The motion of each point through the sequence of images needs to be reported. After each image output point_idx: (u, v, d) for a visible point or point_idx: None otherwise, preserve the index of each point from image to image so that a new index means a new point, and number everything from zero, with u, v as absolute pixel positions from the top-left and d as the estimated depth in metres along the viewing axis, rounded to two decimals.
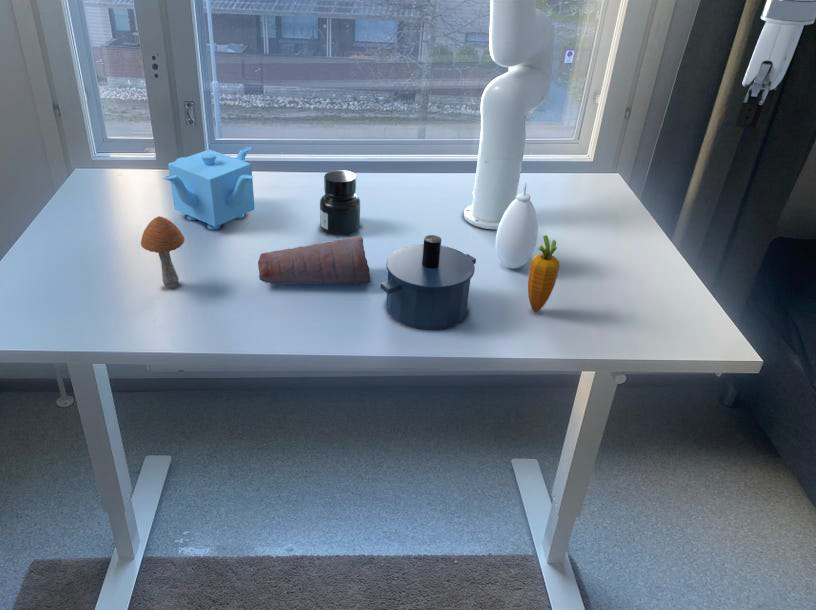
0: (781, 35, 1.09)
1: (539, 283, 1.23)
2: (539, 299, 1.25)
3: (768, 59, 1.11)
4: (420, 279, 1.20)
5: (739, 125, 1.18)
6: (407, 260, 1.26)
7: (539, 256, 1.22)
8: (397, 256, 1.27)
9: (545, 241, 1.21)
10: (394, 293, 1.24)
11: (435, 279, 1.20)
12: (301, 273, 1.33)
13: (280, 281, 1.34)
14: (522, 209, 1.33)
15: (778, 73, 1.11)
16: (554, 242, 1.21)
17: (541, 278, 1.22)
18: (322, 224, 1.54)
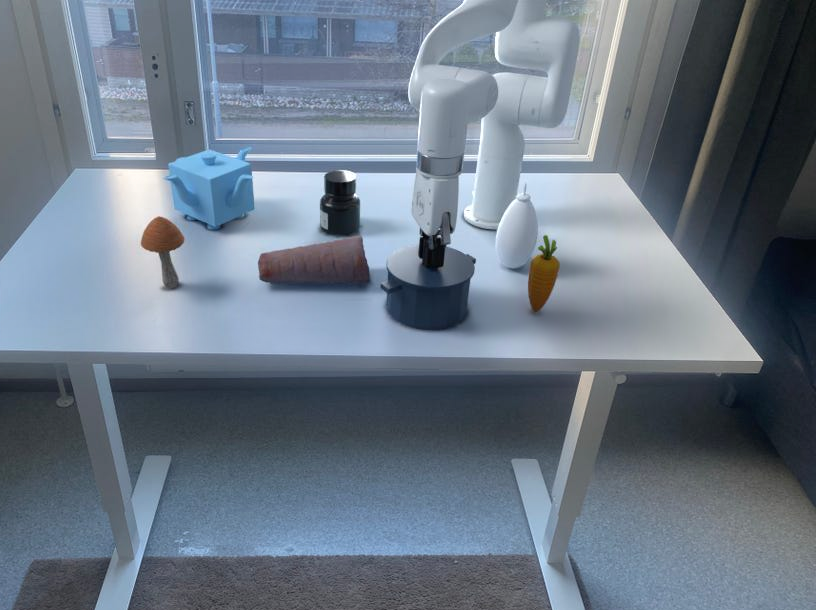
0: (451, 189, 1.12)
1: (539, 283, 1.23)
2: (539, 299, 1.25)
3: (446, 211, 1.13)
4: (420, 279, 1.20)
5: (429, 267, 1.22)
6: (407, 260, 1.26)
7: (539, 256, 1.22)
8: (397, 256, 1.27)
9: (545, 241, 1.21)
10: (394, 293, 1.24)
11: (435, 279, 1.20)
12: (301, 273, 1.33)
13: (280, 281, 1.34)
14: (522, 209, 1.33)
15: (456, 219, 1.15)
16: (554, 242, 1.21)
17: (541, 278, 1.22)
18: (322, 224, 1.54)
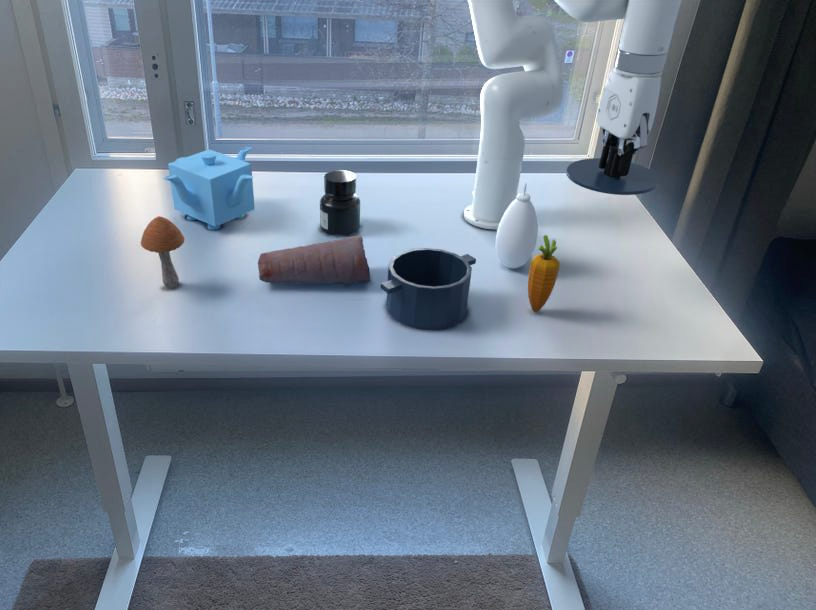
0: (654, 88, 1.11)
1: (539, 283, 1.23)
2: (539, 299, 1.25)
3: (646, 111, 1.13)
4: (608, 185, 1.20)
5: (614, 175, 1.22)
6: (587, 170, 1.26)
7: (539, 256, 1.22)
8: (576, 167, 1.27)
9: (545, 241, 1.21)
10: (394, 293, 1.24)
11: (623, 186, 1.20)
12: (301, 273, 1.33)
13: (280, 281, 1.34)
14: (522, 209, 1.33)
15: (653, 121, 1.15)
16: (554, 242, 1.21)
17: (541, 278, 1.22)
18: (322, 224, 1.54)
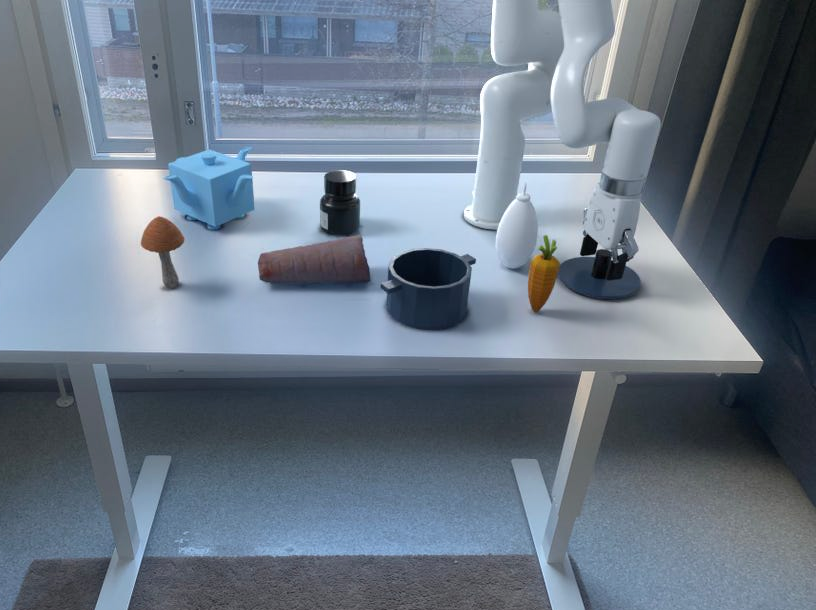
0: (634, 208, 1.24)
1: (539, 283, 1.23)
2: (539, 299, 1.25)
3: (627, 227, 1.26)
4: (594, 289, 1.33)
5: (610, 279, 1.32)
6: (576, 271, 1.39)
7: (539, 256, 1.22)
8: (566, 268, 1.40)
9: (545, 241, 1.21)
10: (394, 293, 1.24)
11: (608, 289, 1.33)
12: (301, 272, 1.33)
13: (280, 281, 1.34)
14: (522, 209, 1.33)
15: None
16: (554, 242, 1.21)
17: (541, 278, 1.22)
18: (322, 224, 1.54)
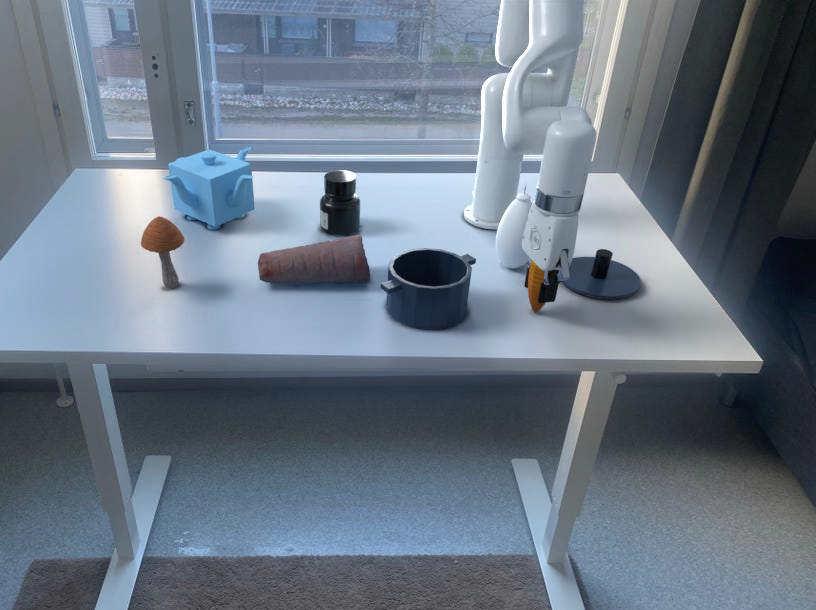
0: (571, 226, 1.14)
1: (539, 283, 1.23)
2: None
3: (565, 247, 1.15)
4: (594, 289, 1.33)
5: (542, 302, 1.24)
6: (576, 271, 1.39)
7: None
8: None
9: None
10: (394, 293, 1.24)
11: (608, 289, 1.33)
12: (301, 272, 1.33)
13: (280, 281, 1.34)
14: (522, 209, 1.33)
15: (572, 255, 1.17)
16: None
17: (541, 278, 1.22)
18: (322, 224, 1.54)
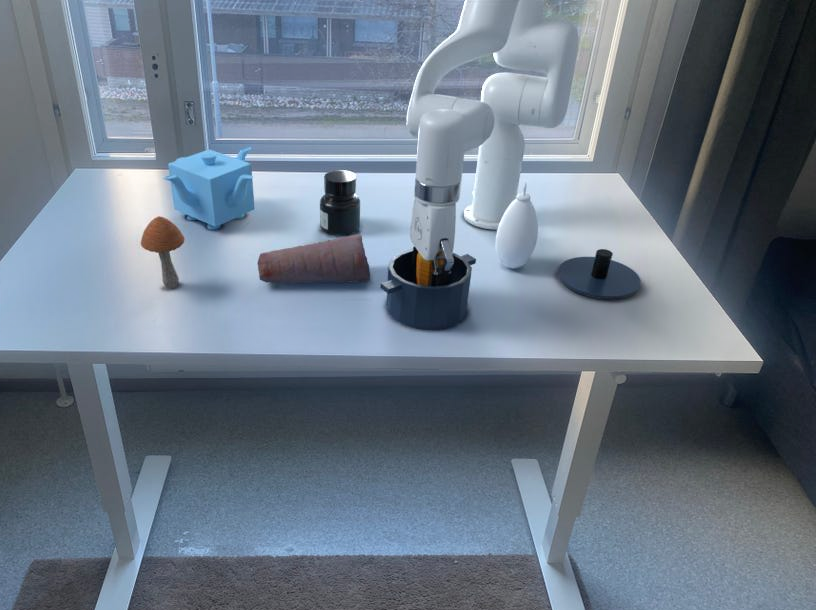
0: (448, 216, 1.14)
1: (425, 276, 1.24)
2: None
3: (444, 237, 1.16)
4: (594, 289, 1.33)
5: None
6: (576, 271, 1.39)
7: None
8: (566, 268, 1.40)
9: None
10: (394, 293, 1.24)
11: (608, 289, 1.33)
12: (301, 272, 1.33)
13: (280, 281, 1.34)
14: (522, 209, 1.33)
15: (453, 245, 1.18)
16: None
17: (426, 270, 1.23)
18: (322, 224, 1.54)
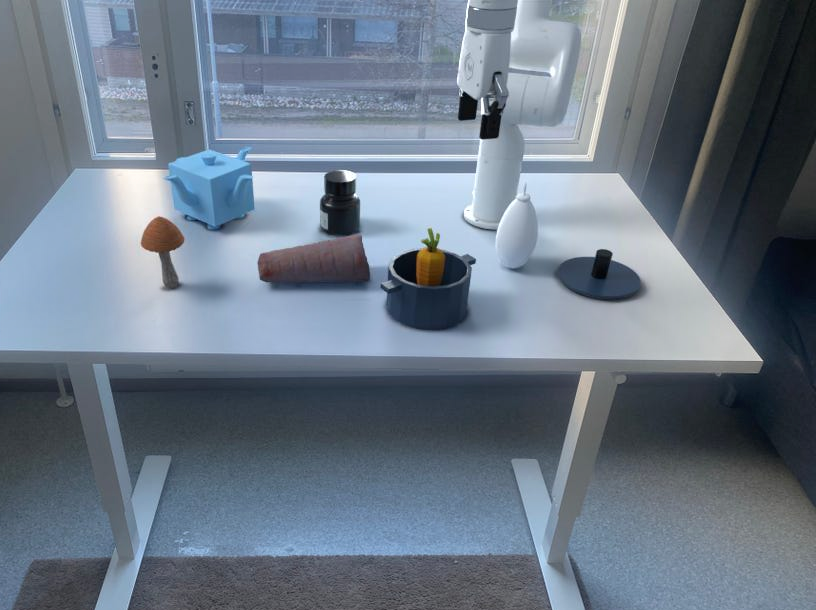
0: (503, 44, 1.07)
1: (425, 276, 1.24)
2: None
3: (497, 70, 1.09)
4: (594, 289, 1.33)
5: (484, 138, 1.15)
6: (576, 271, 1.39)
7: (425, 249, 1.23)
8: (566, 268, 1.40)
9: (429, 234, 1.22)
10: (394, 293, 1.24)
11: (608, 289, 1.33)
12: (301, 272, 1.33)
13: (280, 280, 1.34)
14: (522, 209, 1.33)
15: (507, 81, 1.11)
16: (438, 235, 1.22)
17: (426, 270, 1.23)
18: (322, 224, 1.54)
